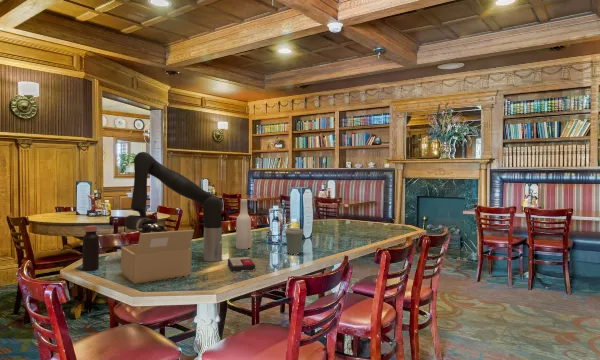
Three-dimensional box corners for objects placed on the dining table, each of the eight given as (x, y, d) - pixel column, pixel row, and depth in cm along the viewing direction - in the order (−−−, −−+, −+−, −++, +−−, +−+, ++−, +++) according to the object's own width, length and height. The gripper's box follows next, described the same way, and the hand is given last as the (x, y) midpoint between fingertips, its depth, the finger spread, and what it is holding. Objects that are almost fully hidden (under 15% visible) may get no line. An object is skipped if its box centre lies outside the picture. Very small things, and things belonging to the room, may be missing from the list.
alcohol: (250, 249, 243) (251, 199, 242) (236, 249, 241) (236, 199, 241) (250, 247, 252) (251, 198, 251) (235, 247, 250) (236, 198, 250)
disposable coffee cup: (292, 251, 239) (292, 226, 238) (306, 254, 232) (307, 228, 232) (280, 254, 230) (281, 228, 230) (296, 257, 224) (296, 229, 223)
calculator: (231, 265, 187) (227, 256, 201) (231, 274, 187) (227, 265, 202) (255, 263, 190) (249, 255, 205) (255, 272, 191) (249, 264, 205)
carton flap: (193, 229, 175) (194, 230, 175) (188, 247, 179) (189, 248, 179) (140, 233, 162) (140, 234, 161) (136, 252, 166) (136, 253, 165)
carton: (175, 266, 196) (175, 241, 196) (191, 275, 180) (192, 248, 180) (120, 273, 181) (120, 246, 181) (133, 283, 165) (133, 254, 165)
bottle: (90, 271, 184) (90, 227, 183) (78, 270, 186) (79, 226, 186) (102, 268, 190) (102, 225, 190) (91, 267, 192) (91, 225, 192)
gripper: (131, 219, 188) (143, 223, 174) (160, 217, 196) (173, 221, 182) (131, 235, 188) (143, 240, 174) (160, 232, 196) (173, 237, 182)
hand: (158, 230), depth 178 cm, fingers closed
